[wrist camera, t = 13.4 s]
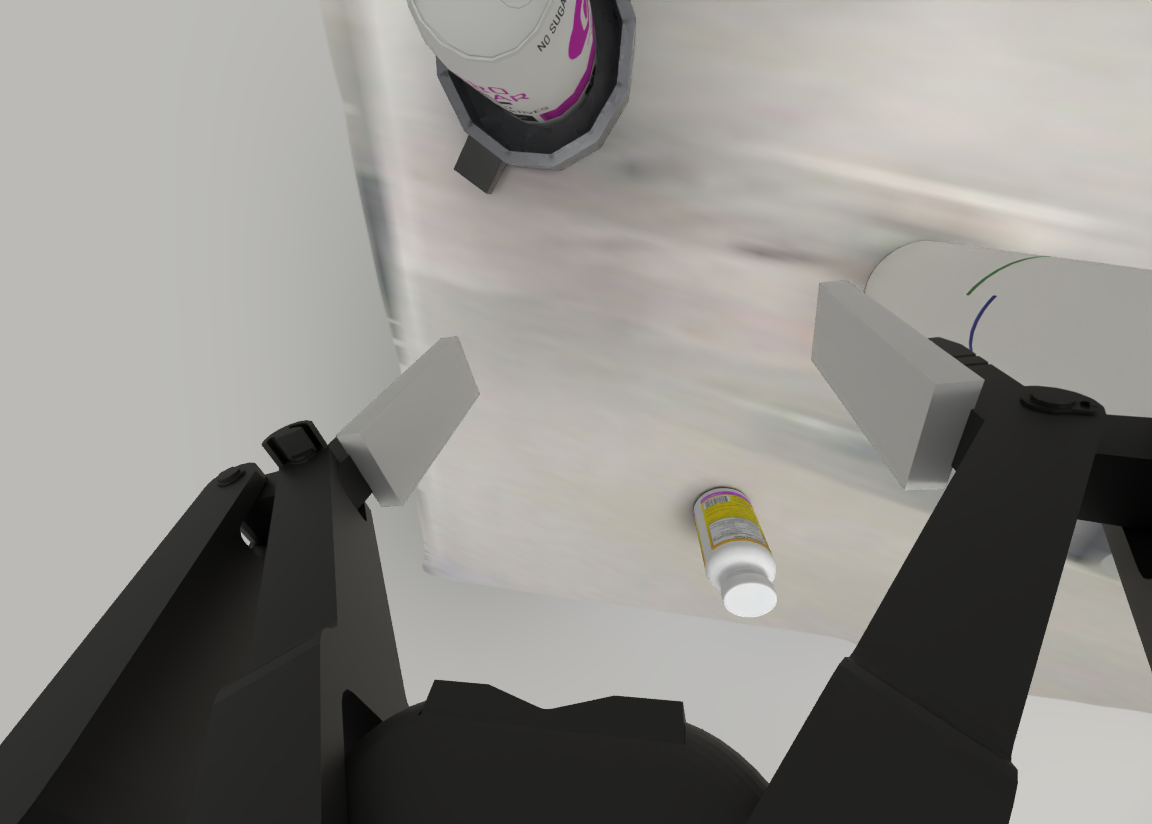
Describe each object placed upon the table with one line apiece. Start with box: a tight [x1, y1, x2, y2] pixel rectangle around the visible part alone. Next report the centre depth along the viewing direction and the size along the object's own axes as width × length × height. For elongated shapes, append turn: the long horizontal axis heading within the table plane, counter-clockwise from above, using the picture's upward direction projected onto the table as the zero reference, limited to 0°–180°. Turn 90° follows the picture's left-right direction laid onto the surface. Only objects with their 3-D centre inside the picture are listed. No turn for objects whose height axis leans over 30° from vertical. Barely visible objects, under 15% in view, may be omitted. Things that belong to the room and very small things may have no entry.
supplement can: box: [407, 0, 598, 127], centre depth 24 cm, size 8×8×15 cm
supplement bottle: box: [694, 488, 777, 617], centre depth 43 cm, size 7×7×13 cm
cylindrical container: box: [865, 241, 1152, 418], centre depth 24 cm, size 7×7×25 cm
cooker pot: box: [436, 0, 636, 194], centre depth 29 cm, size 19×14×4 cm
